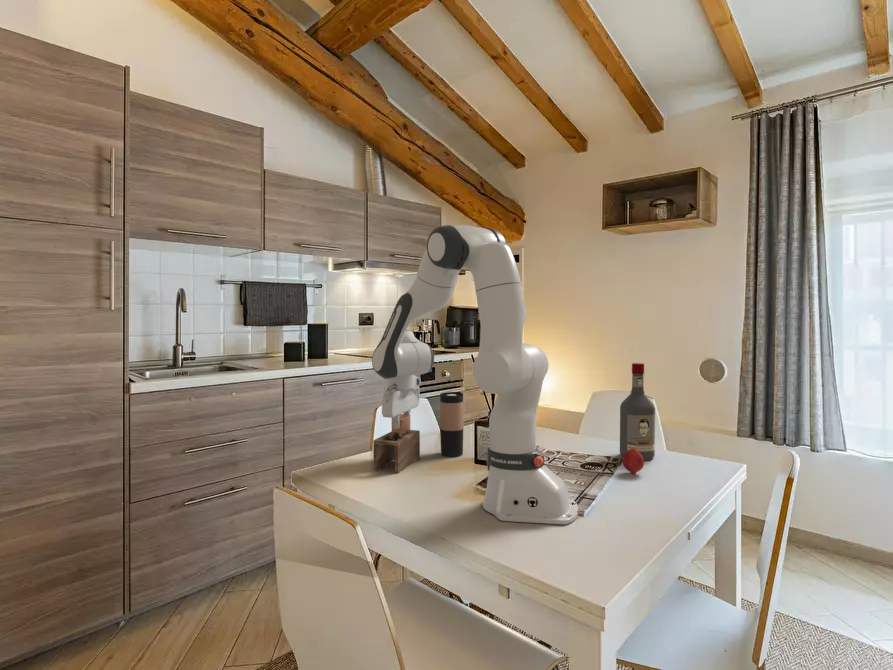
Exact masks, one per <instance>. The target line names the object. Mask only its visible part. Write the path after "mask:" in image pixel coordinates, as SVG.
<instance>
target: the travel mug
mask: <svg viewBox="0 0 893 670" xmlns="http://www.w3.org/2000/svg"><path fill="white" fill-rule="evenodd" d="M439 395H440V396H439V398H440V399H439V400H440V401H439V404H440V405H439V406H440V407H439V408H440V409H439V410H440V411H439V430H440V431H439V433H440V435H439V437H440V454H441V456H442V457H446V458H458V457H462V456H463V455H464V454H463V453H464V394H463V393H462V392H458V391H457V392H456V391H445V392H441V393H440V394H439Z"/></svg>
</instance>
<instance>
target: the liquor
mask: <svg viewBox="0 0 893 670" xmlns="http://www.w3.org/2000/svg"><path fill="white" fill-rule="evenodd" d="M631 373H632V374H631V379H632V380H631V390H630V394H629V395H628V396H627V397H626V398H625V399H624V400H622V402H621V403H620V405H619V406H620V407H619V409H620V410H619V411H620V412H619V454H620V455H621V456H622V457H623V456H624V454H625V453H626V452H627V451H628V450H630V449H631V448H632V447H636V450H637V451H638V452H639V453H640V454H641V455H642V456H643V459H644V461H651V460H653V459H654V458H655V455H656V453H655V451H656V450H655V449H656V439H655V438H656V407H655V405H654V404H653V402H652V401H651V400H650V398H649V397H648V396H647V395H646V394H645V389H644V388H645V387H644V383H645V382H644V376H645V375H644V374H645V363H640V362H633V363H631Z"/></svg>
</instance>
